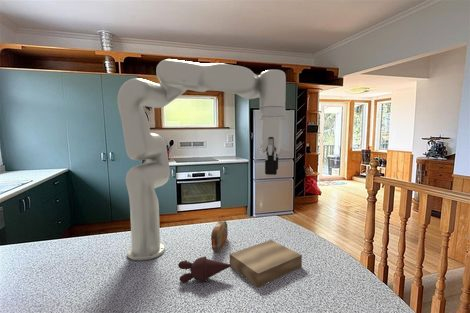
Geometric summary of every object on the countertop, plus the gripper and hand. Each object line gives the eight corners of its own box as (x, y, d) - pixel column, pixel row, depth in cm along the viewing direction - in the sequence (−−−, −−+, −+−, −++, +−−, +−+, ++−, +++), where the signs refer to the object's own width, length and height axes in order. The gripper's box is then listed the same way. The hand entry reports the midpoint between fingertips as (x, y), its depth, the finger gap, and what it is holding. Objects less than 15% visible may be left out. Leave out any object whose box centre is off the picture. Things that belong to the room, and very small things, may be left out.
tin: (218, 256, 87) (218, 232, 87) (209, 255, 88) (209, 231, 87) (228, 238, 102) (228, 218, 101) (220, 237, 103) (220, 217, 102)
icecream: (228, 250, 78) (179, 256, 77) (229, 255, 70) (175, 262, 69) (231, 274, 77) (181, 280, 76) (232, 282, 69) (177, 289, 68)
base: (229, 265, 81) (229, 253, 80) (270, 250, 91) (271, 239, 91) (258, 287, 69) (258, 273, 69) (301, 267, 80) (301, 255, 79)
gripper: (262, 116, 83) (262, 167, 85) (255, 112, 67) (255, 176, 68) (285, 115, 82) (285, 168, 83) (284, 111, 65) (284, 177, 67)
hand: (272, 171), depth 76 cm, fingers open, 9 cm apart
